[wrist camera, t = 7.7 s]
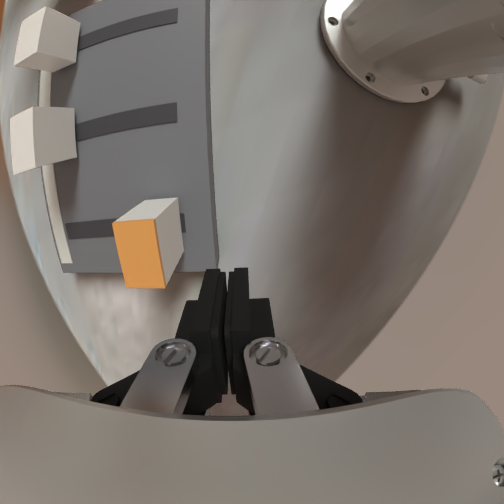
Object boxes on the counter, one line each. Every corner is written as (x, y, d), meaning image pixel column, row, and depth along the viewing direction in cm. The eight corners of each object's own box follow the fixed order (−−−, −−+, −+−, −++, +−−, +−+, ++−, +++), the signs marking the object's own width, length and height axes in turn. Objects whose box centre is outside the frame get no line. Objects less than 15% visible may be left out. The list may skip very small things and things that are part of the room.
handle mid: (74, 108, 15) (32, 106, 10) (76, 157, 16) (35, 167, 12) (51, 116, 15) (10, 118, 10) (54, 163, 16) (13, 174, 12)
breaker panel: (210, -11, 13) (206, -26, 11) (219, 257, 23) (216, 271, 21) (59, 32, 13) (45, 27, 11) (75, 261, 23) (62, 273, 21)
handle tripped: (177, 197, 18) (153, 220, 13) (184, 250, 20) (165, 288, 15) (144, 200, 18) (112, 223, 13) (152, 251, 20) (126, 288, 15)
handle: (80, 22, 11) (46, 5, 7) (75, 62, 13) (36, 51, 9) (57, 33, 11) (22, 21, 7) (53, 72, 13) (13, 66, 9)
